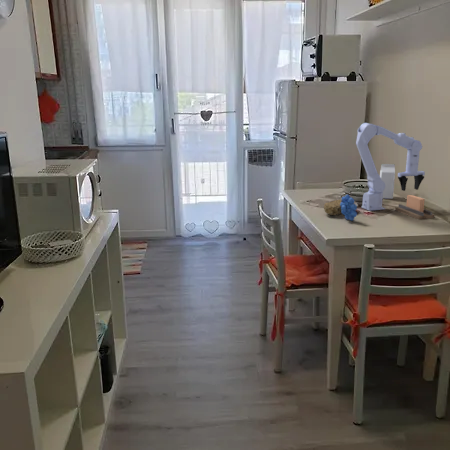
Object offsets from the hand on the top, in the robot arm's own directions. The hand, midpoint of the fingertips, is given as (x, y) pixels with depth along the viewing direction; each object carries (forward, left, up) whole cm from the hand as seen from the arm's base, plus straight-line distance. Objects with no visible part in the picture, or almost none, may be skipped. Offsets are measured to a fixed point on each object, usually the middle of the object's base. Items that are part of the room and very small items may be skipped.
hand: (409, 189), depth 239 cm
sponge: (-39, +2, -10) cm, 40 cm away
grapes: (-42, -11, -10) cm, 44 cm away
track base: (-5, -12, -9) cm, 16 cm away
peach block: (-5, -11, -8) cm, 15 cm away
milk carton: (+3, +24, -10) cm, 26 cm away
